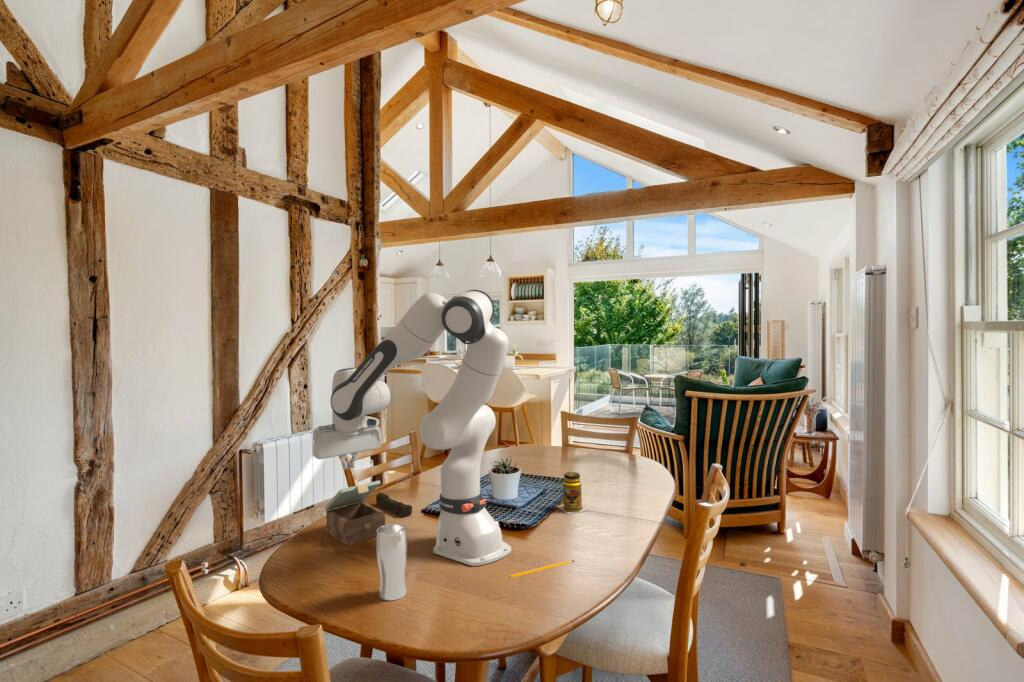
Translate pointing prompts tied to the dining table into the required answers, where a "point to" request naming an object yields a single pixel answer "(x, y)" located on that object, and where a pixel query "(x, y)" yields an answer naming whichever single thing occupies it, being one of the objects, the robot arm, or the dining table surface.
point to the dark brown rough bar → (393, 505)
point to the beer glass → (392, 560)
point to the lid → (352, 495)
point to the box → (355, 522)
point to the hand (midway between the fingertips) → (348, 468)
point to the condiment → (572, 493)
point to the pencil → (541, 568)
